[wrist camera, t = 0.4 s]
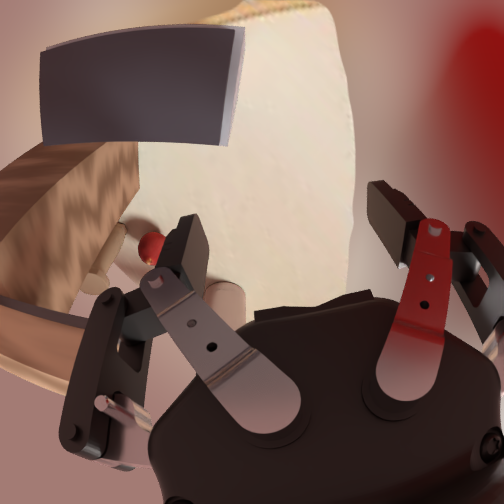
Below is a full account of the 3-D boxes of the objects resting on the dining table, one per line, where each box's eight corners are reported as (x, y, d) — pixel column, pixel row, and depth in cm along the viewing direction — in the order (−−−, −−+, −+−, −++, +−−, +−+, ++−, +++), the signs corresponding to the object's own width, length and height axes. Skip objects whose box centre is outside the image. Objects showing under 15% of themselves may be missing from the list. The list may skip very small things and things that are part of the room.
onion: (160, 252, 52) (151, 281, 46) (138, 235, 49) (126, 262, 43) (179, 237, 50) (170, 266, 44) (156, 218, 47) (144, 245, 41)
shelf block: (139, 188, 43) (51, 355, 18) (78, 186, 41) (-23, 324, 17) (137, 121, 35) (-11, 257, 11) (71, 125, 34) (-72, 241, 9)
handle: (102, 222, 47) (69, 276, 35) (128, 214, 46) (96, 270, 34) (113, 241, 50) (84, 296, 38) (138, 234, 49) (112, 292, 38)
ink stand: (237, 100, 34) (226, 152, 15) (144, 96, 33) (39, 151, 14) (245, 49, 29) (245, 24, 10) (148, 47, 28) (35, 48, 9)
